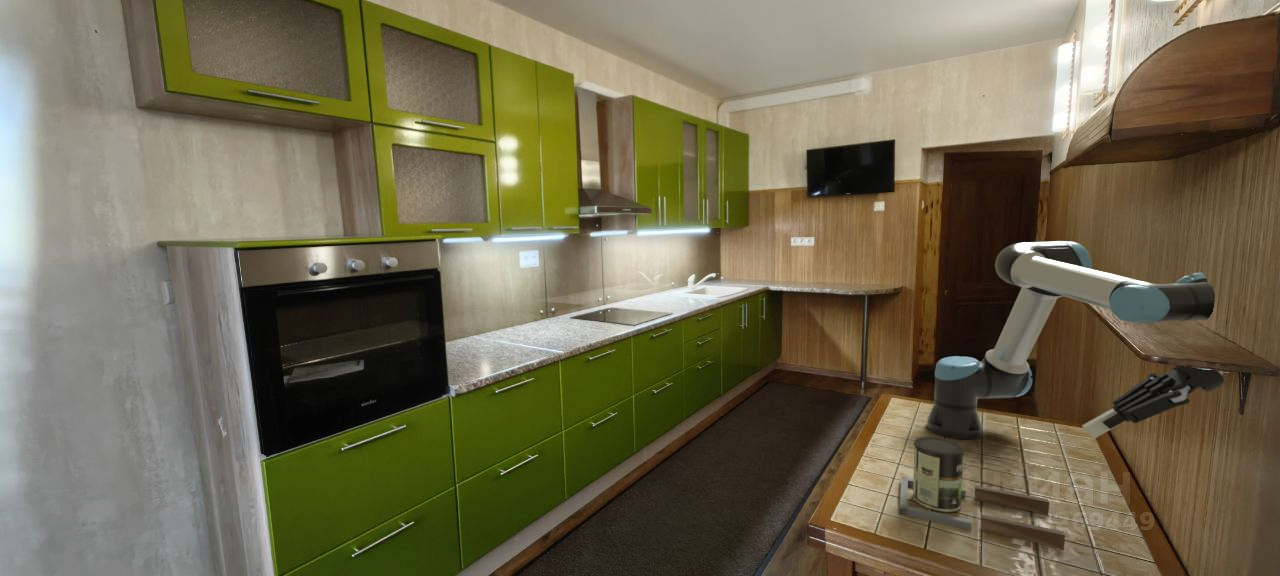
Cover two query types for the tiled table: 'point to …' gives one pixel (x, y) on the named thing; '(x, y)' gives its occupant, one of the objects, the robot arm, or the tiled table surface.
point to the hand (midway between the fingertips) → (1088, 431)
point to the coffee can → (938, 474)
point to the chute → (1013, 527)
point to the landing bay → (928, 514)
